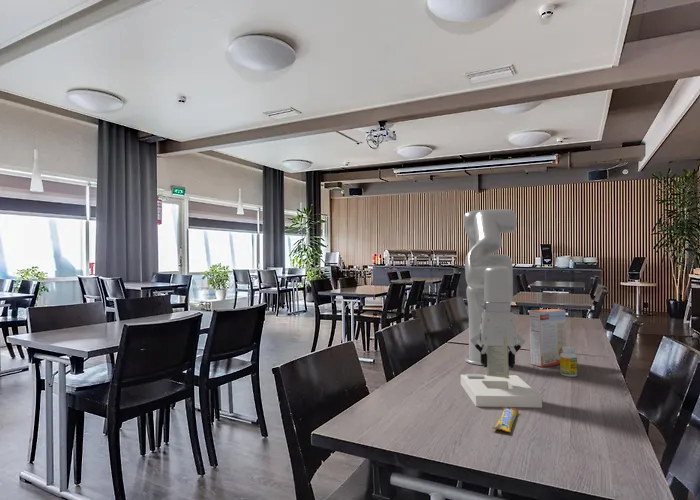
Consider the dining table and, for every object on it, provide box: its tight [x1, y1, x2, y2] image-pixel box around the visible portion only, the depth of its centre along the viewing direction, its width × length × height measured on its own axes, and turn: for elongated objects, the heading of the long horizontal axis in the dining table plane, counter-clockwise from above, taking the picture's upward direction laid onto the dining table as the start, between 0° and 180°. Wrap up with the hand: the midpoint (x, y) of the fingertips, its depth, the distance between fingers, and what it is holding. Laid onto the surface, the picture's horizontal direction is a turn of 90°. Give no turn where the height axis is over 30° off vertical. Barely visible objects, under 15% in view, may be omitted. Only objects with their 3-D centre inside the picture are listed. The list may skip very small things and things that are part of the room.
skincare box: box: [486, 337, 510, 378], centre depth 134 cm, size 6×4×12 cm
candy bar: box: [491, 407, 519, 433], centre depth 112 cm, size 17×4×2 cm, turn 152°
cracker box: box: [528, 308, 567, 368], centre depth 173 cm, size 14×6×21 cm, turn 115°
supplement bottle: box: [559, 346, 578, 378], centre depth 156 cm, size 5×5×10 cm
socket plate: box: [460, 373, 543, 408], centre depth 134 cm, size 22×18×4 cm
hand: (497, 366), depth 134 cm, fingers closed on skincare box, 7 cm apart
